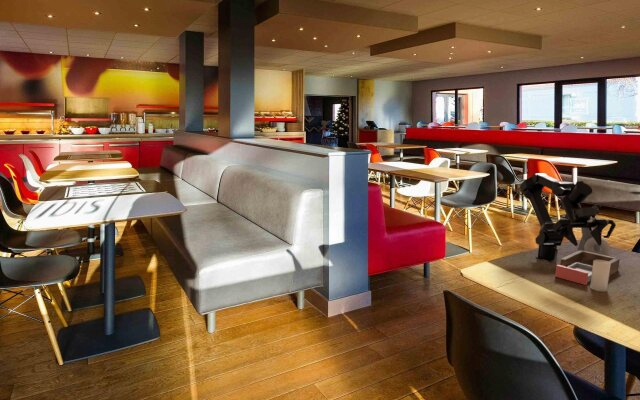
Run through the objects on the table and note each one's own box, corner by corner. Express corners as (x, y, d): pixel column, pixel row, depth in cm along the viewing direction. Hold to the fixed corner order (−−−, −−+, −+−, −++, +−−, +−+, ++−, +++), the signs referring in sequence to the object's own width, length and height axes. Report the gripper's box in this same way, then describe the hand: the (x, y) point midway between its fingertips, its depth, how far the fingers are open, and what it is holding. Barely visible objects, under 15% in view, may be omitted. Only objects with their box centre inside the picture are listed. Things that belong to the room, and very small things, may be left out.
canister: (587, 288, 163) (591, 261, 161) (593, 284, 166) (596, 258, 164) (603, 292, 159) (607, 265, 157) (609, 289, 162) (613, 262, 160)
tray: (555, 276, 174) (556, 265, 173) (573, 267, 184) (575, 256, 183) (585, 284, 165) (587, 273, 165) (603, 274, 176) (604, 263, 175)
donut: (610, 262, 191) (613, 239, 189) (607, 263, 189) (610, 240, 187) (584, 256, 199) (587, 234, 197) (581, 257, 196) (584, 235, 194)
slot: (559, 270, 180) (561, 258, 179) (578, 261, 192) (580, 249, 191) (600, 281, 169) (601, 268, 168) (618, 270, 181) (619, 258, 180)
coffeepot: (573, 253, 201) (578, 214, 198) (570, 247, 210) (575, 209, 206) (614, 258, 196) (620, 217, 193) (608, 251, 205) (614, 212, 201)
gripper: (560, 198, 169) (576, 235, 160) (608, 197, 171) (625, 234, 162) (546, 214, 178) (560, 249, 170) (591, 213, 180) (607, 248, 171)
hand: (588, 245), depth 168 cm, fingers open, 9 cm apart
